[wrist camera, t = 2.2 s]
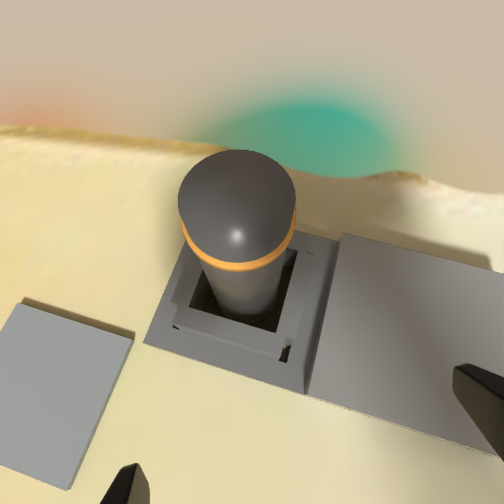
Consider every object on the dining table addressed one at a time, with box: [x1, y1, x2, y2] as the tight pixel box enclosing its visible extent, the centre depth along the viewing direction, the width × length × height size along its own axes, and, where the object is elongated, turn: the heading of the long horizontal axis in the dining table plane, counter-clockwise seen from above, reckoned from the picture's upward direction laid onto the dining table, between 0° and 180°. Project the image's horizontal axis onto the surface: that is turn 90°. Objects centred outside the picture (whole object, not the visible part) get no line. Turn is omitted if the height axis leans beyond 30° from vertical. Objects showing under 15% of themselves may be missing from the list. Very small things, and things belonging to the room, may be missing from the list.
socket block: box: [143, 230, 504, 459], centre depth 22 cm, size 11×23×4 cm, turn 73°
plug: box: [178, 150, 296, 323], centre depth 18 cm, size 5×5×13 cm
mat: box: [0, 303, 134, 491], centre depth 22 cm, size 9×9×1 cm
